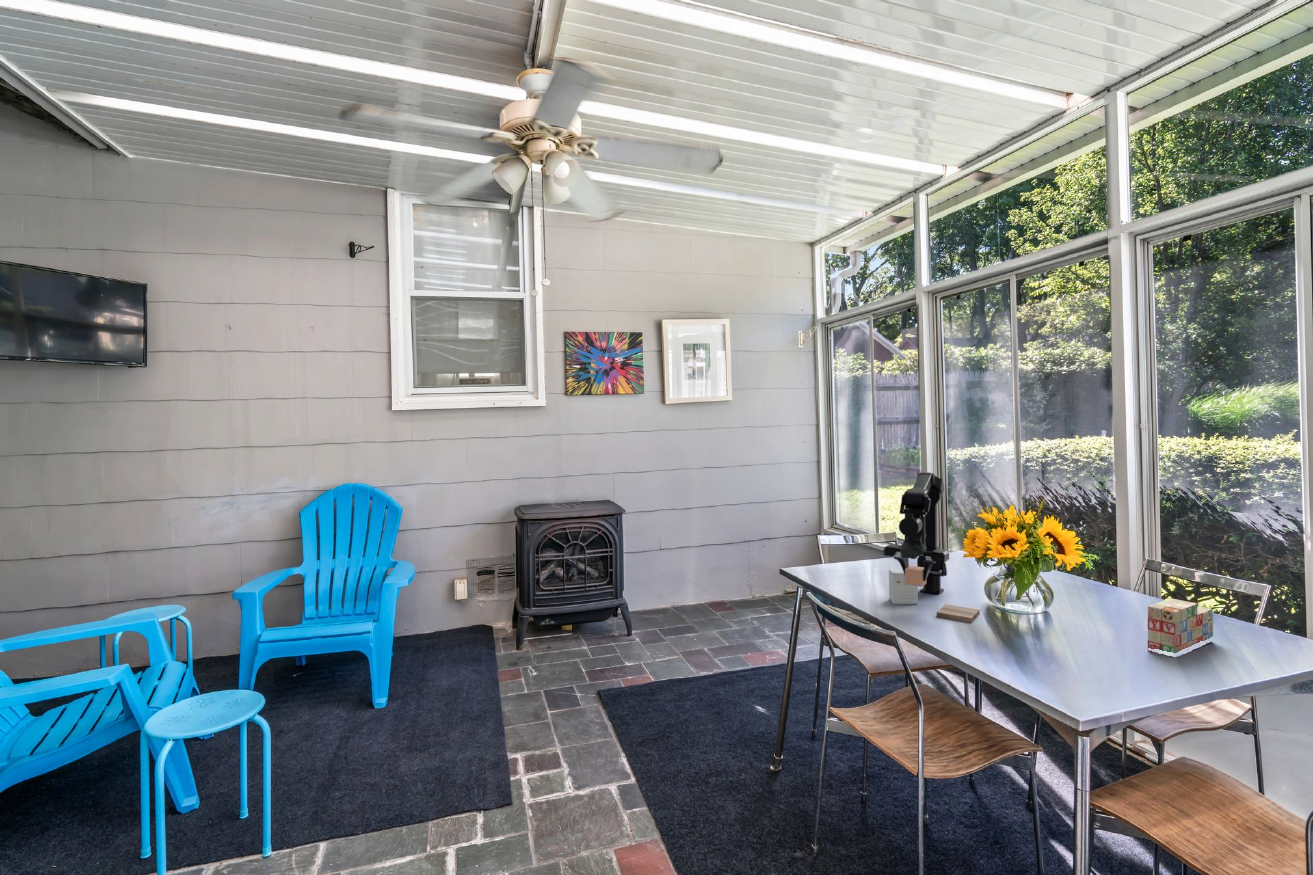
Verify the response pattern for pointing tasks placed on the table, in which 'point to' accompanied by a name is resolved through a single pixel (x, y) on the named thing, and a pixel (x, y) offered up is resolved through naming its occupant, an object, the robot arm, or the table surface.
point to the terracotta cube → (914, 576)
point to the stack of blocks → (1178, 625)
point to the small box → (901, 588)
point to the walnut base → (958, 613)
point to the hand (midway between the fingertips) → (915, 579)
